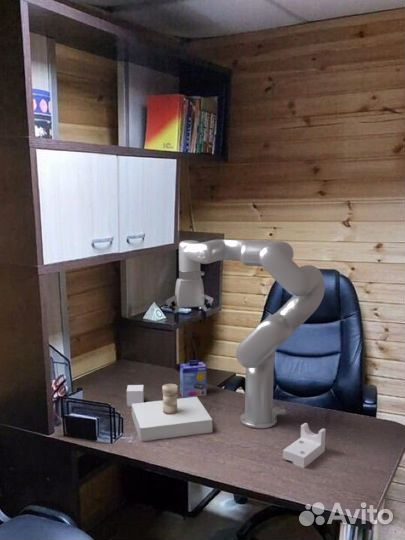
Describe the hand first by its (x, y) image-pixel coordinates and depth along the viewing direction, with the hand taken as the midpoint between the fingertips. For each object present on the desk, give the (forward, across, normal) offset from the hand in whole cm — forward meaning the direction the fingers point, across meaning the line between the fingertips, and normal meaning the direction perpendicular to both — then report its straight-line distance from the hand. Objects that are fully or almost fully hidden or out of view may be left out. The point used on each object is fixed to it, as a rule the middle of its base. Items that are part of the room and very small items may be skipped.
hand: (189, 322), depth 197 cm
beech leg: (+32, +10, +12) cm, 35 cm away
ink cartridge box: (+32, -4, -11) cm, 35 cm away
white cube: (+33, +19, -9) cm, 39 cm away
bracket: (+33, -25, +44) cm, 60 cm away
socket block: (+32, +10, +12) cm, 36 cm away
